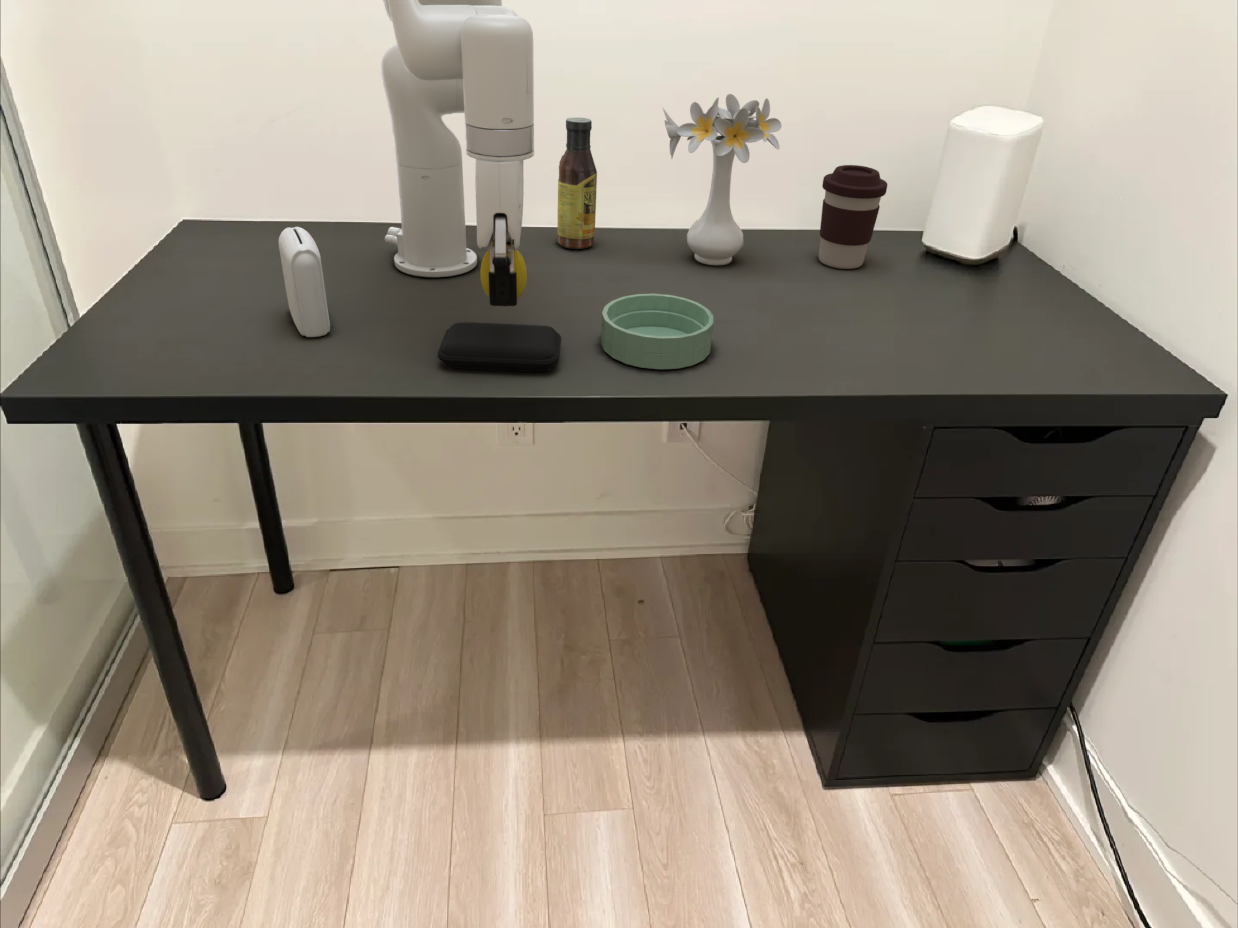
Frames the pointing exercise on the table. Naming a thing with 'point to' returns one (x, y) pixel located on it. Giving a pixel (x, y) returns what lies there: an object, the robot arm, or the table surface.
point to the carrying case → (500, 346)
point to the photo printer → (304, 282)
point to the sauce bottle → (577, 188)
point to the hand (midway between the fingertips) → (504, 293)
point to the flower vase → (722, 169)
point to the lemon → (518, 267)
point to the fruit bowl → (656, 331)
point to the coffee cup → (849, 214)
